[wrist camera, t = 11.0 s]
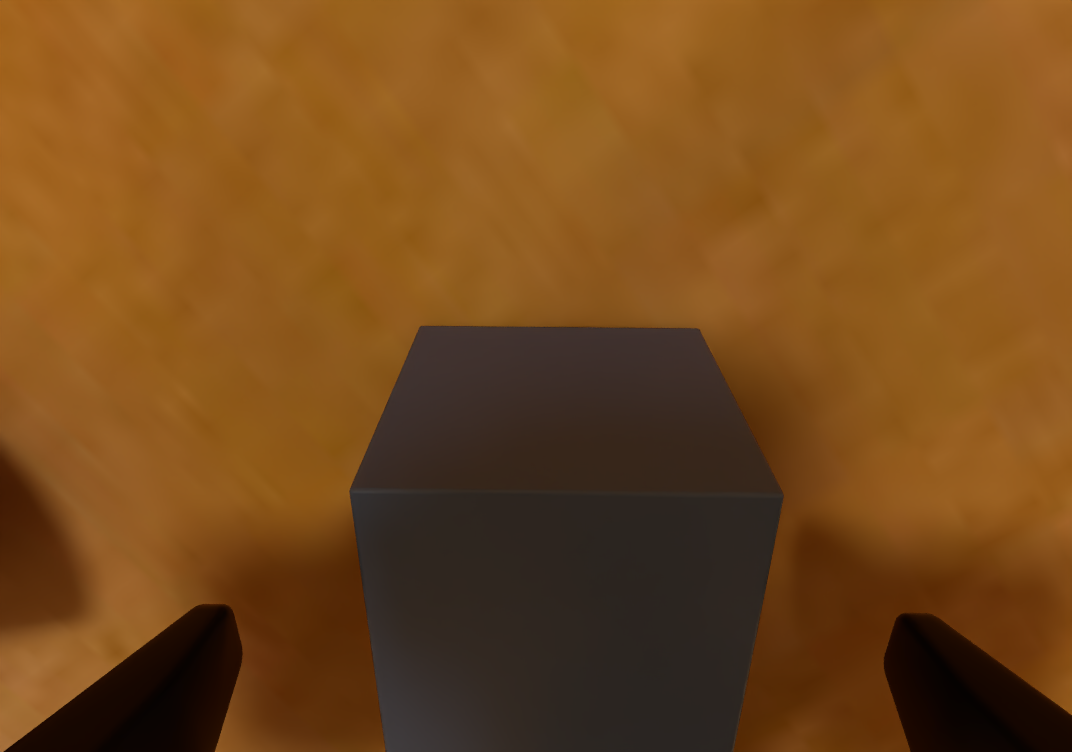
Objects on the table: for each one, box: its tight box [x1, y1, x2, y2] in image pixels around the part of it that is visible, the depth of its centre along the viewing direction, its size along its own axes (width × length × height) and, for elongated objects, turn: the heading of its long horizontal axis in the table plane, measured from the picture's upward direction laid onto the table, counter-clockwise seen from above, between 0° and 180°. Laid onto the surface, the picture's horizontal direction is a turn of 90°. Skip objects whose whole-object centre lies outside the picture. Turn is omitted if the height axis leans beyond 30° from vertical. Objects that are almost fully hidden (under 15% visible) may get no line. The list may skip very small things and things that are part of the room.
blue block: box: [350, 326, 784, 752], centre depth 11 cm, size 5×5×5 cm
